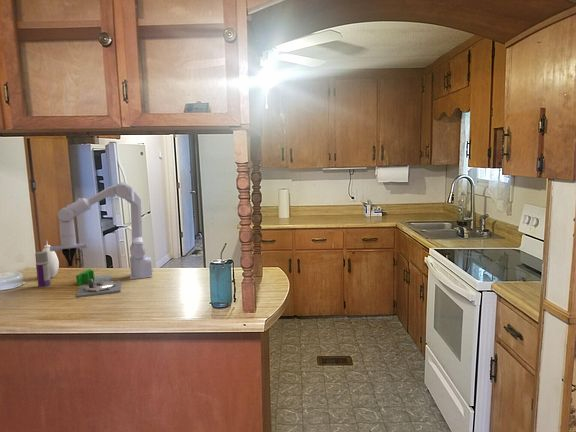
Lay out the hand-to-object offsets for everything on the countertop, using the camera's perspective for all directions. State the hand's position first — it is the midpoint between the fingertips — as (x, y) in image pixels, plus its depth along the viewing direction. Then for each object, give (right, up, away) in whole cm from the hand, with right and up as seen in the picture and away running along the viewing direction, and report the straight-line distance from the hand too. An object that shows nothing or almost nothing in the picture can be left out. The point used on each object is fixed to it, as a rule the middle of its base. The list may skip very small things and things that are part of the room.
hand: (70, 265), depth 178 cm
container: (-11, -9, -1) cm, 14 cm away
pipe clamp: (+5, -8, +5) cm, 11 cm away
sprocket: (+16, -9, -7) cm, 20 cm away
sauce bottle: (-17, -7, +13) cm, 23 cm away
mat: (+11, -7, +6) cm, 15 cm away
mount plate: (+16, -9, -7) cm, 20 cm away
